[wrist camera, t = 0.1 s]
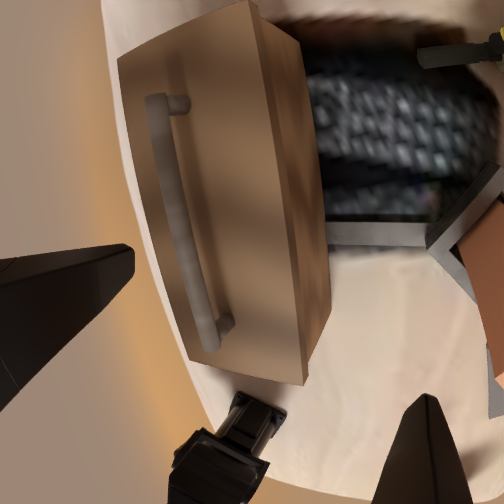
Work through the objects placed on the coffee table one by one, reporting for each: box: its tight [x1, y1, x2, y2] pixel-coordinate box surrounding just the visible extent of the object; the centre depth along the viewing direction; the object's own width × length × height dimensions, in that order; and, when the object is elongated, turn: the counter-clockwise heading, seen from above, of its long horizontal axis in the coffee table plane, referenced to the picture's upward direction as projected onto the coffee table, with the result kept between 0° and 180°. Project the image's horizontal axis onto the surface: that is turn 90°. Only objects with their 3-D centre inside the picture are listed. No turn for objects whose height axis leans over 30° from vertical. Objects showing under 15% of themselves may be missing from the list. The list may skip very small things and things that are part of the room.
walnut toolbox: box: [117, 0, 331, 386], centre depth 18 cm, size 21×9×10 cm, turn 10°
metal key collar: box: [324, 161, 504, 304], centre depth 17 cm, size 12×13×2 cm
